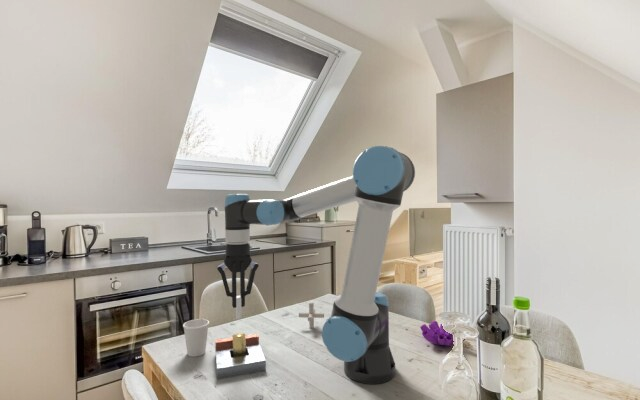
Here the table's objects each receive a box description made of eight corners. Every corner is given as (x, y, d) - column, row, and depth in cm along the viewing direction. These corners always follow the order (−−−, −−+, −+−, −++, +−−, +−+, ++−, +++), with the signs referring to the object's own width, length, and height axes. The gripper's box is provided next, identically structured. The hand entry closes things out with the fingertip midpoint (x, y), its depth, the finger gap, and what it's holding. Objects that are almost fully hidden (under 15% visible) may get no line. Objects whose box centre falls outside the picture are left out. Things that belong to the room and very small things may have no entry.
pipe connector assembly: (443, 363, 109) (425, 339, 110) (430, 343, 124) (414, 323, 125) (470, 342, 109) (452, 319, 109) (454, 325, 124) (438, 304, 124)
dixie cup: (197, 345, 118) (197, 317, 118) (214, 350, 114) (214, 321, 114) (177, 355, 111) (177, 325, 111) (195, 360, 107) (194, 329, 107)
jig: (265, 370, 100) (265, 353, 100) (217, 379, 95) (216, 361, 95) (257, 348, 115) (257, 333, 115) (215, 354, 110) (215, 339, 110)
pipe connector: (325, 323, 137) (324, 299, 137) (323, 332, 127) (322, 306, 127) (301, 322, 138) (300, 298, 138) (297, 332, 128) (296, 306, 128)
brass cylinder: (245, 356, 108) (244, 332, 108) (247, 362, 104) (246, 336, 104) (232, 359, 106) (231, 334, 106) (233, 364, 103) (233, 338, 103)
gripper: (256, 240, 111) (257, 311, 111) (215, 242, 107) (216, 315, 107) (260, 242, 104) (261, 318, 104) (216, 245, 99) (217, 324, 99)
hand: (238, 317), depth 105 cm, fingers closed
